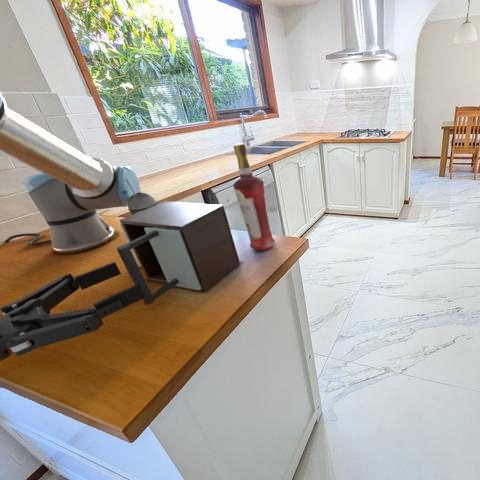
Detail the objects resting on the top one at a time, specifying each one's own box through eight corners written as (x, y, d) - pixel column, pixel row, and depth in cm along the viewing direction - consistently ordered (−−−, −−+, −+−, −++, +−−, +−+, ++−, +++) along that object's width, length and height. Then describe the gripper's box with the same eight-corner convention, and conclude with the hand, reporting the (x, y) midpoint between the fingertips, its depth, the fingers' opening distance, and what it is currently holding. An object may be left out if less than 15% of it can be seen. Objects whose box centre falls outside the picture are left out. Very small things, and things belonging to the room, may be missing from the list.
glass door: (136, 306, 60) (104, 246, 53) (170, 283, 67) (146, 227, 60) (169, 314, 57) (139, 251, 50) (201, 289, 64) (179, 230, 57)
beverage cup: (175, 238, 91) (151, 175, 81) (151, 248, 85) (122, 182, 76) (163, 234, 94) (138, 173, 85) (139, 243, 89) (110, 180, 80)
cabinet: (147, 280, 70) (119, 220, 63) (186, 255, 80) (166, 200, 73) (205, 291, 65) (181, 226, 57) (240, 263, 75) (223, 205, 67)
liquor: (244, 249, 81) (216, 146, 68) (265, 238, 86) (243, 141, 73) (260, 256, 77) (234, 148, 64) (281, 244, 82) (261, 142, 69)
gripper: (-26, 332, 50) (117, 274, 64) (-21, 420, 36) (162, 319, 50) (-57, 298, 47) (101, 244, 61) (-66, 380, 32) (144, 284, 46)
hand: (129, 278), depth 55 cm, fingers open, 13 cm apart
